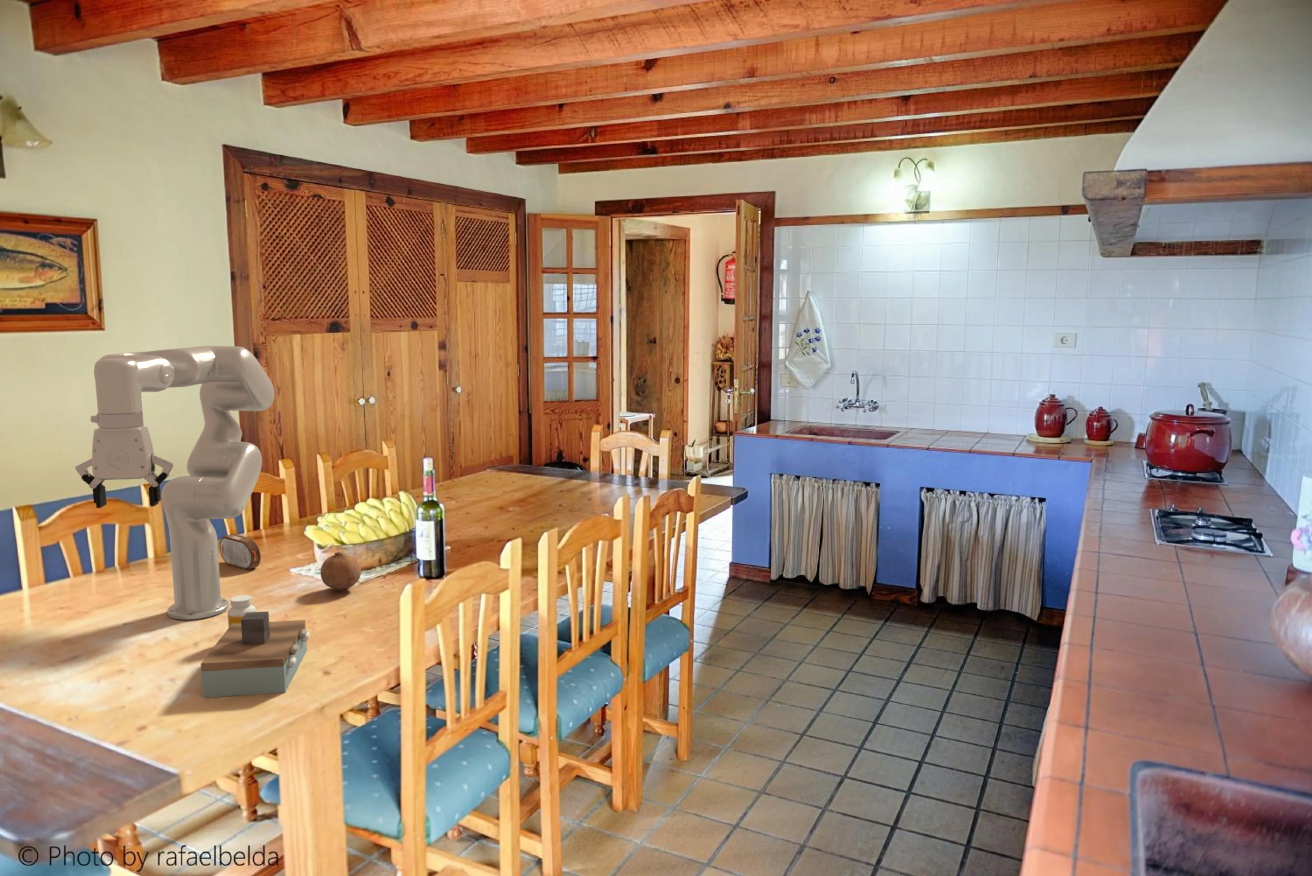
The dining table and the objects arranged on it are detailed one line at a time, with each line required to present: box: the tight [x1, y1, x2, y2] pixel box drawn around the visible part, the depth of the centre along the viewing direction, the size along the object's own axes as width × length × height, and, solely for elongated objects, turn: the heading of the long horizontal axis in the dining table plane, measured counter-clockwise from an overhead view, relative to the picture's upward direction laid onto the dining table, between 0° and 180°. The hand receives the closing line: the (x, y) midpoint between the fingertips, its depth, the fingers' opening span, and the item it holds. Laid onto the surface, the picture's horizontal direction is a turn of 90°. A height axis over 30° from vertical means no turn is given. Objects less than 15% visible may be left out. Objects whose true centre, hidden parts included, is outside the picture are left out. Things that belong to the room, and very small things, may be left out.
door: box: [200, 611, 308, 672], centre depth 168 cm, size 20×15×6 cm
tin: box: [219, 533, 261, 570], centre depth 236 cm, size 15×3×8 cm, turn 58°
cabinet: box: [201, 626, 311, 699], centre depth 169 cm, size 20×15×5 cm
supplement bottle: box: [227, 594, 257, 628], centre depth 184 cm, size 5×5×10 cm
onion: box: [320, 551, 362, 592], centre depth 217 cm, size 10×9×10 cm
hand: (128, 505), depth 175 cm, fingers open, 9 cm apart
